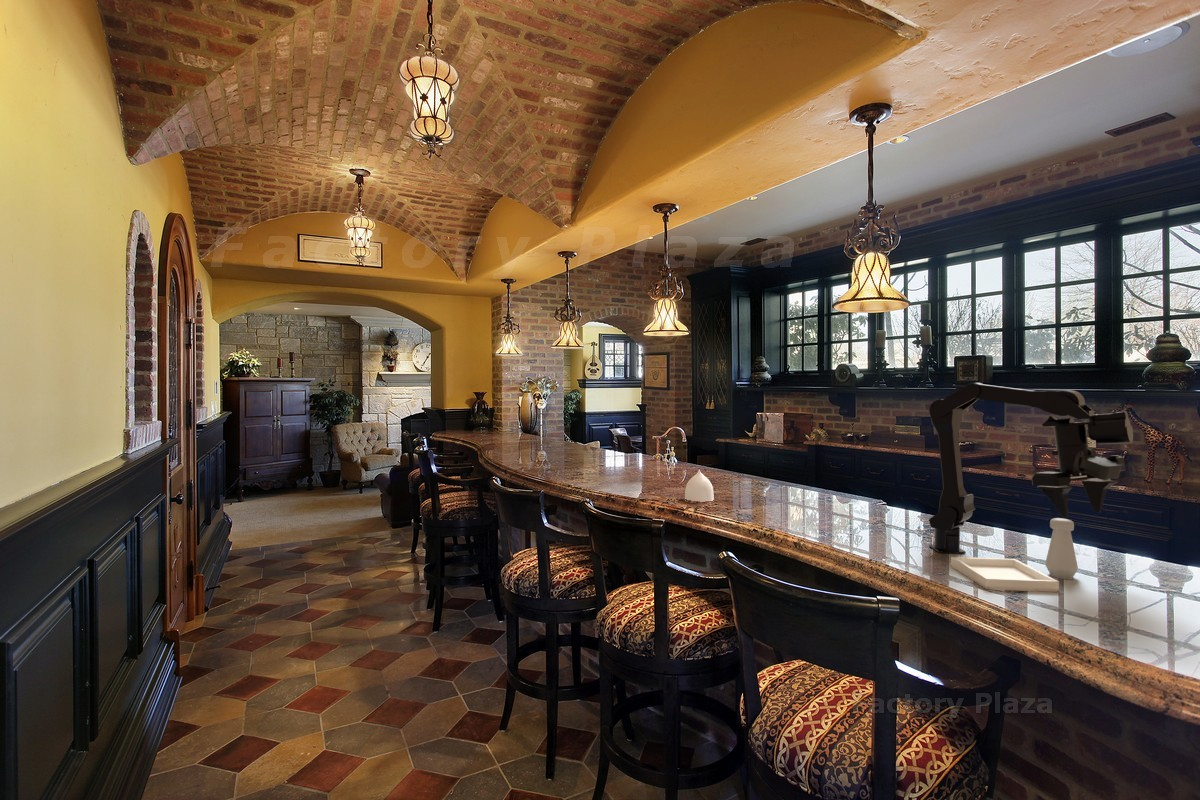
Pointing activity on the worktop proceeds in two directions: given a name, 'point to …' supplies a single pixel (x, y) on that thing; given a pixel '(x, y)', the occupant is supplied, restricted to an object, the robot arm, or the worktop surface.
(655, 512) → the worktop surface
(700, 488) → the teardrop
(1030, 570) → the tray
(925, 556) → the worktop surface
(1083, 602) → the worktop surface
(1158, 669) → the worktop surface
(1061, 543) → the salt shaker
